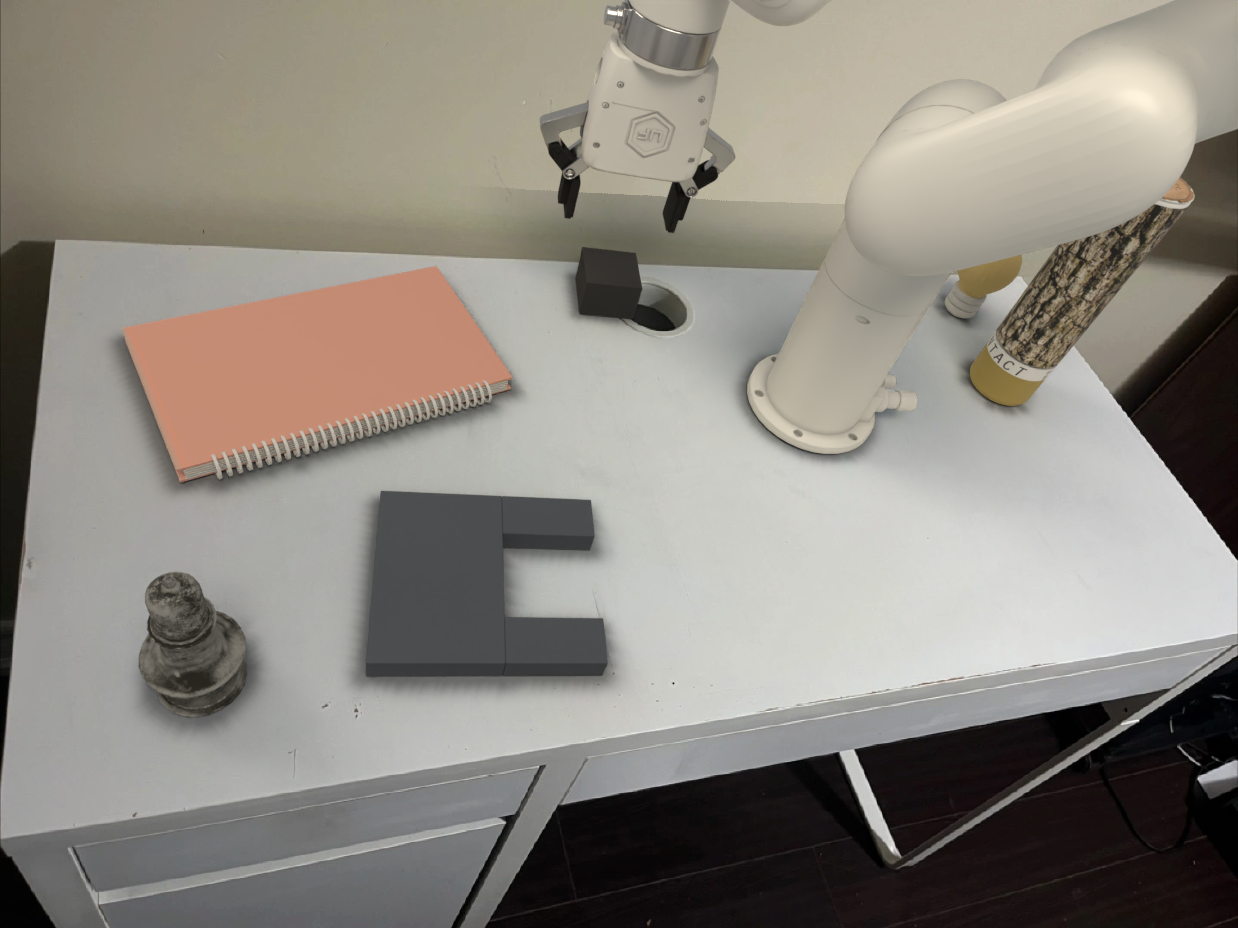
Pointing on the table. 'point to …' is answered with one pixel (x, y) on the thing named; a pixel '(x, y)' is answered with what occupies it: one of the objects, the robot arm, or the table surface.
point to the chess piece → (190, 648)
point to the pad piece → (608, 283)
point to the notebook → (310, 369)
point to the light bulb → (980, 285)
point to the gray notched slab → (472, 588)
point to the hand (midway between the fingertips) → (618, 216)
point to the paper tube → (1069, 300)
